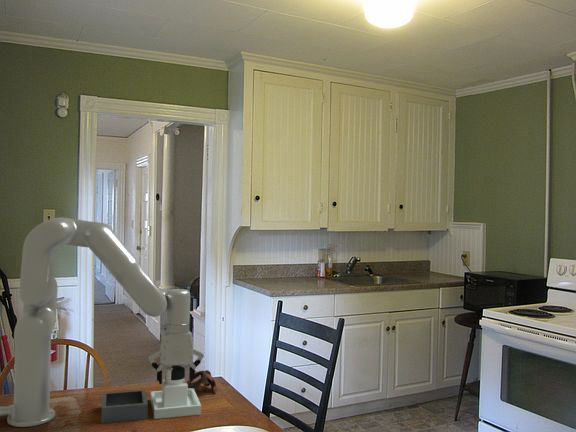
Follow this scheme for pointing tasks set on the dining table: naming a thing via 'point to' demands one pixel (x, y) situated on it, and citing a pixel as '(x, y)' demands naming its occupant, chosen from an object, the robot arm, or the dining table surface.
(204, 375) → the broken pottery ring
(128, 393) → the holder
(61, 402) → the dining table surface
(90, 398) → the dining table surface
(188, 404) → the tray
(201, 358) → the robot arm
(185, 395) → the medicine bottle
